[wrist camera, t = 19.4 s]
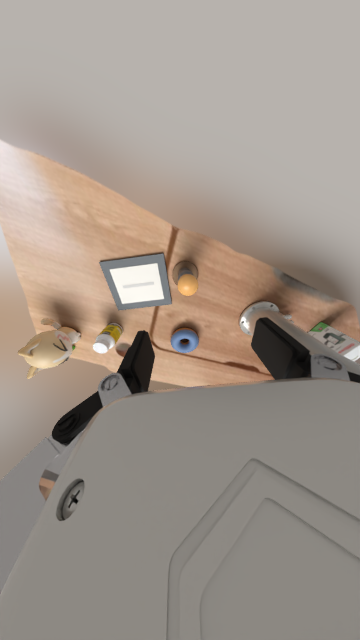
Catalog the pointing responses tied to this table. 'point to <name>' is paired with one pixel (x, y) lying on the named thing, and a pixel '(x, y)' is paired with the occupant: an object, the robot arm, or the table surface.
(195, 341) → the doughnut
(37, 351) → the kitten
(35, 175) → the table surface
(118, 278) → the grey picture frame
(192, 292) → the marker
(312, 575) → the robot arm
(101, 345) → the supplement bottle
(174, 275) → the coaster
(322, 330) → the ink box
